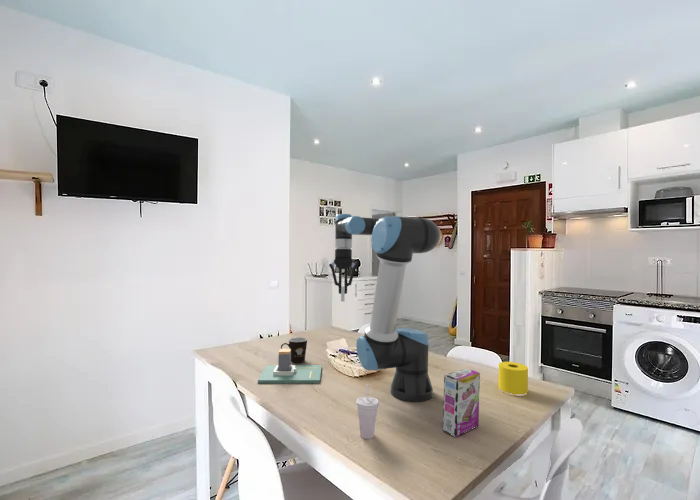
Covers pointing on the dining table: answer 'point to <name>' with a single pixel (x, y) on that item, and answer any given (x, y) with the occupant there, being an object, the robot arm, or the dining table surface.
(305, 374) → the board
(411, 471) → the dining table surface
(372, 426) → the smoothie
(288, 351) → the plug
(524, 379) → the yellow toilet paper roll
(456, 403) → the candy bar box
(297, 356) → the coffee mug
